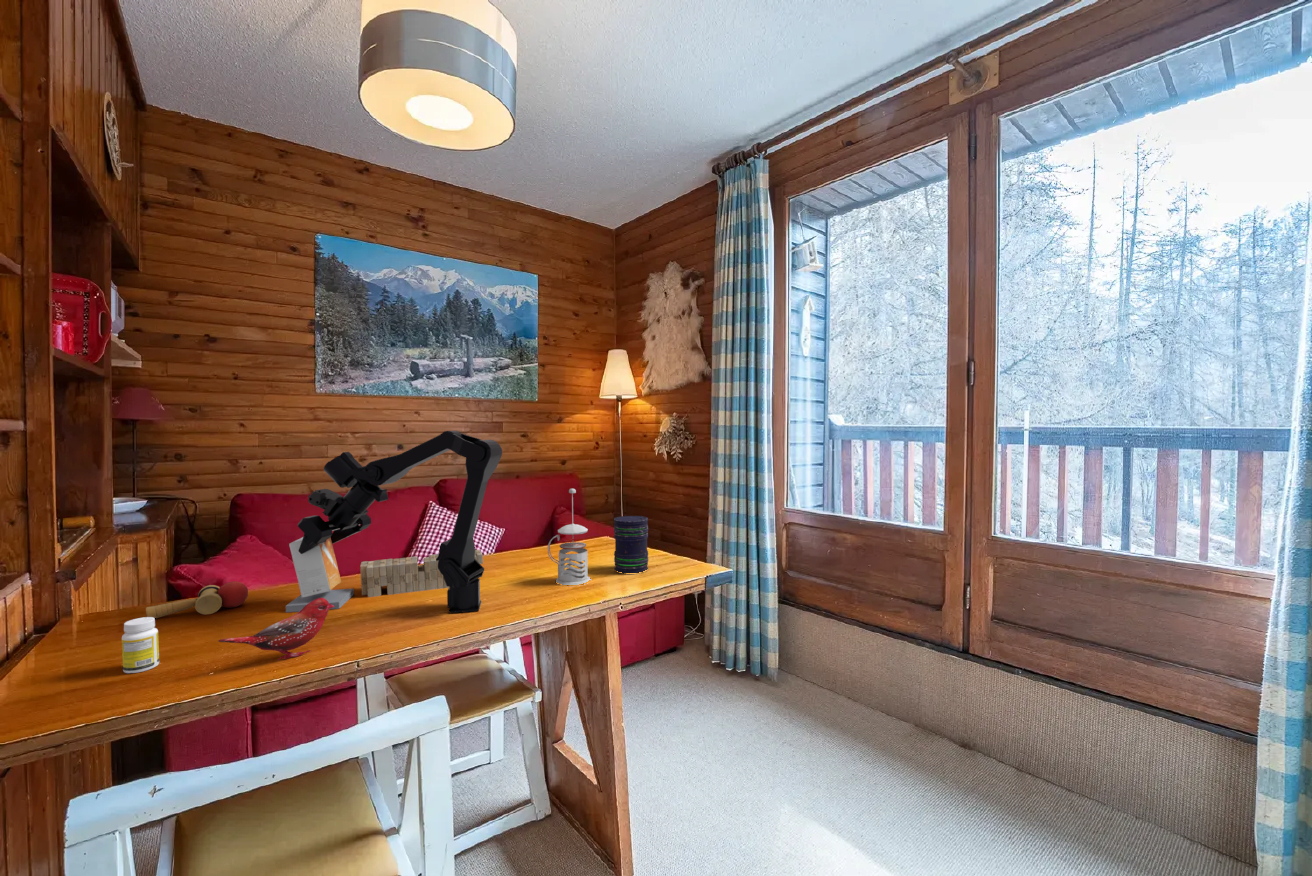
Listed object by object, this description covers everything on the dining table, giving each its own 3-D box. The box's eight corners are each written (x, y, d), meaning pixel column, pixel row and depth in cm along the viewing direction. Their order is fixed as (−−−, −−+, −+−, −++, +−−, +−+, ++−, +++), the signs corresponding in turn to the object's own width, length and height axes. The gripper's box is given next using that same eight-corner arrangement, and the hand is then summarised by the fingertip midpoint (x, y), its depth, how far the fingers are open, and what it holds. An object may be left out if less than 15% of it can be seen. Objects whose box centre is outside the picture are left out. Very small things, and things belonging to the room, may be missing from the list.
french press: (589, 585, 146) (588, 490, 145) (544, 586, 146) (543, 490, 145) (593, 575, 156) (592, 486, 155) (552, 575, 156) (551, 486, 155)
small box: (331, 590, 130) (317, 536, 129) (301, 598, 128) (287, 543, 128) (342, 581, 138) (329, 530, 137) (314, 588, 136) (301, 537, 136)
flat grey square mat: (354, 594, 140) (353, 588, 140) (339, 608, 129) (339, 602, 129) (305, 597, 138) (305, 591, 138) (285, 612, 127) (285, 605, 127)
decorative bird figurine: (337, 648, 106) (336, 596, 106) (220, 679, 94) (218, 620, 93) (333, 644, 108) (332, 593, 108) (217, 673, 96) (216, 616, 95)
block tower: (361, 602, 137) (484, 583, 149) (359, 568, 137) (483, 552, 149) (363, 593, 144) (480, 576, 156) (361, 561, 144) (479, 546, 156)
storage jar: (610, 573, 158) (609, 521, 157) (618, 565, 167) (618, 515, 167) (645, 575, 156) (644, 521, 156) (651, 566, 166) (650, 516, 165)
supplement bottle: (138, 662, 101) (136, 616, 100) (166, 661, 101) (165, 615, 101) (114, 674, 96) (113, 626, 96) (144, 673, 96) (142, 625, 96)
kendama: (146, 632, 119) (250, 604, 130) (141, 603, 119) (244, 577, 130) (152, 628, 125) (250, 601, 136) (147, 600, 126) (245, 575, 136)
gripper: (358, 473, 141) (319, 517, 143) (304, 481, 123) (259, 531, 124) (388, 505, 140) (349, 548, 142) (338, 517, 122) (293, 567, 123)
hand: (314, 548), depth 133 cm, fingers closed on small box, 9 cm apart
